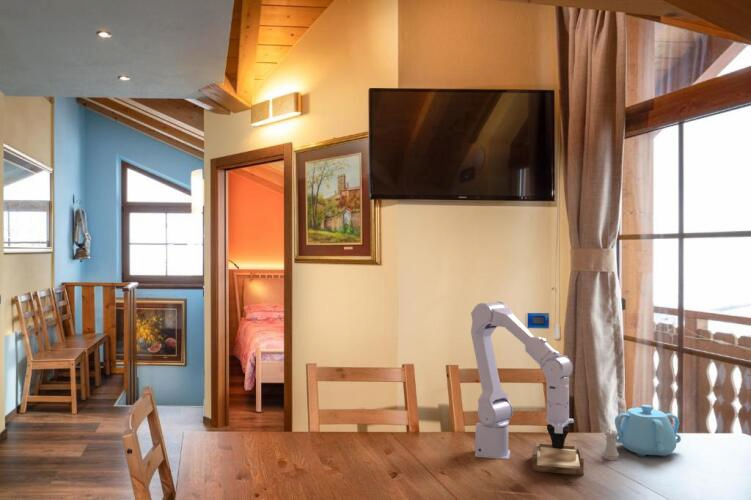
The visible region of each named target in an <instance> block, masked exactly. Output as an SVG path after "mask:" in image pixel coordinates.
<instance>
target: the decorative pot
mask: <svg viewBox="0 0 751 500" xmlns="http://www.w3.org/2000/svg"><path fill="white" fill-rule="evenodd" d="M670 418H673V419H674V426H672V423H671V421H670ZM620 419H622V420H621V422H620ZM614 424H615V425H614V426H615V428H616V434H617V436H616V437H615V439H616V443H618V444H622V446H623V447H624V448H625V449H626V450H629V451H630V452H633V453H635V454H636V455H637V457H645V456H658V457H663V458H664V457H668V455H671V454H673V452H674V451H675V449H676V448H677V444H678V443H680V442H681V440H682V438H681V436H680V434H678V431H679V426H680V419H679V418H678V416H676V415H675V414H673V413H668V412H667V413H665V412H663V411H662V410H658V409H656V408H655V409H654V406H652V405H650V404H642V405H640V407H637V406H635V407H632V408H628V409H627V410H626V412H622V413H619V414H617V415H616V416H615V418H614ZM617 437H618V438H617ZM676 437H677V438H676Z"/></svg>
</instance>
